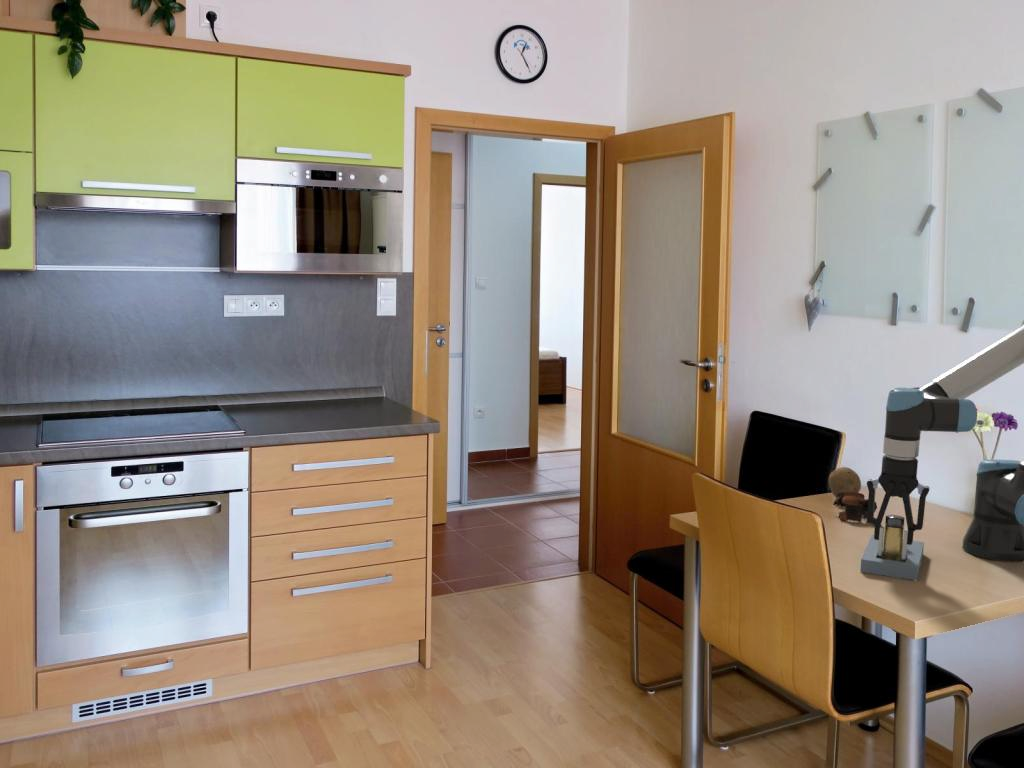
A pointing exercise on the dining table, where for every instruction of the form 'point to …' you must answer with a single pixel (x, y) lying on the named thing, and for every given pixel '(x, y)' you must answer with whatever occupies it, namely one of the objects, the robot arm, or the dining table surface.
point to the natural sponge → (844, 481)
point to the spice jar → (893, 537)
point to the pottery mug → (853, 506)
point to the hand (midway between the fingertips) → (891, 555)
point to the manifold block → (889, 567)
